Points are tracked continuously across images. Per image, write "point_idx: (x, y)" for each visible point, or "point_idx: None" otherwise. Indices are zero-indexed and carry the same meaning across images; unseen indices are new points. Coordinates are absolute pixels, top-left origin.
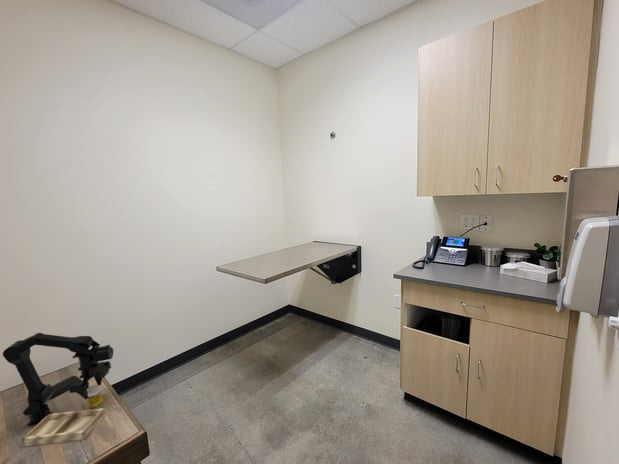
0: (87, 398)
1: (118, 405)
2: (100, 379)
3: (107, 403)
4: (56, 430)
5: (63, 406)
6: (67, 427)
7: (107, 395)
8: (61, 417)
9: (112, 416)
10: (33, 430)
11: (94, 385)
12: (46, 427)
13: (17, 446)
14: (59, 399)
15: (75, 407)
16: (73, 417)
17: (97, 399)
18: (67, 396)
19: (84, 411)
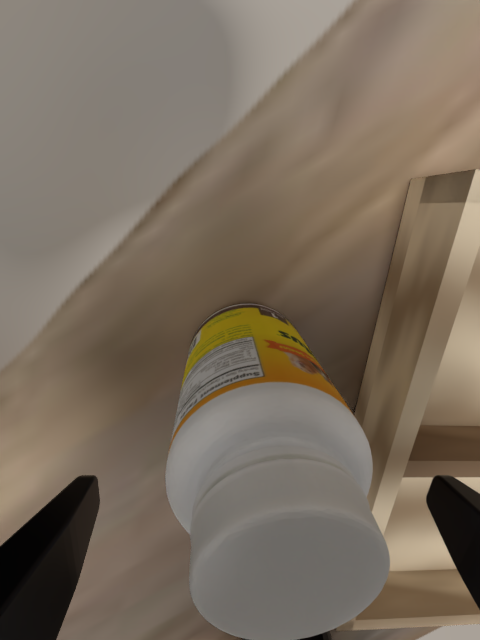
0: (449, 477)
1: (301, 89)
2: (1, 627)
3: (232, 258)
4: (469, 480)
5: None
6: (477, 427)
7: (102, 328)
8: None
9: (475, 69)
10: (473, 611)
11: (215, 594)
12: (406, 552)
13: None
14: (116, 634)
15: None
16: (431, 447)
17: (306, 352)
18: (89, 613)
19: (427, 393)
